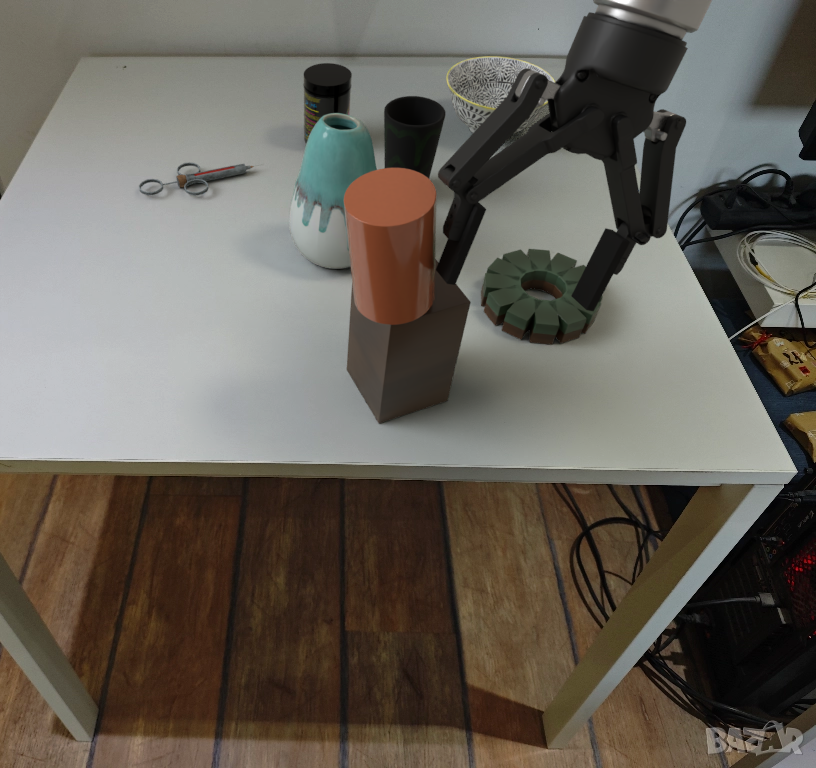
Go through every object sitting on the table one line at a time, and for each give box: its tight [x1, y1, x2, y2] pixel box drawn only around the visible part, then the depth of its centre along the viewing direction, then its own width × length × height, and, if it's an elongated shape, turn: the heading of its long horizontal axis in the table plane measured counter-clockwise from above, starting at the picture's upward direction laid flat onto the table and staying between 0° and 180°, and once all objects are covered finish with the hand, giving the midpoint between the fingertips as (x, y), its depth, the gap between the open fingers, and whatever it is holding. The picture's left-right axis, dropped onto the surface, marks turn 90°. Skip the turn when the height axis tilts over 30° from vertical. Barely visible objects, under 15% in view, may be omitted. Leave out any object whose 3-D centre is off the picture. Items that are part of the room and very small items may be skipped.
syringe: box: [138, 161, 265, 197], centre depth 101 cm, size 8×18×2 cm, turn 110°
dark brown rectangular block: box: [346, 258, 472, 424], centre depth 71 cm, size 8×8×14 cm
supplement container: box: [302, 62, 353, 145], centre depth 104 cm, size 7×7×10 cm
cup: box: [383, 95, 446, 179], centre depth 95 cm, size 8×8×12 cm
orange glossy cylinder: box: [344, 167, 438, 325], centre depth 60 cm, size 7×7×11 cm
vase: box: [288, 113, 378, 270], centre depth 84 cm, size 12×12×18 cm
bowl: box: [445, 55, 556, 134], centre depth 108 cm, size 16×16×8 cm
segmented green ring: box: [480, 248, 604, 346], centre depth 83 cm, size 13×13×3 cm
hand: (515, 291), depth 61 cm, fingers open, 13 cm apart
